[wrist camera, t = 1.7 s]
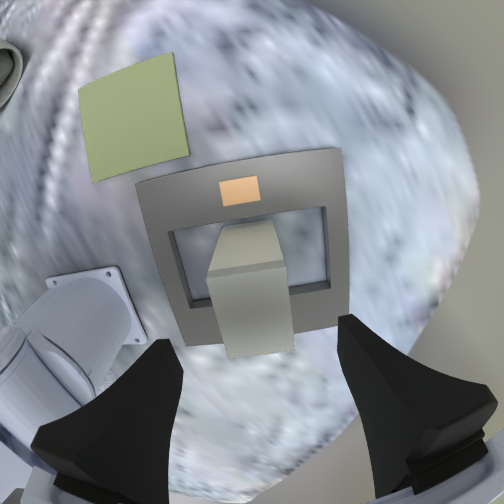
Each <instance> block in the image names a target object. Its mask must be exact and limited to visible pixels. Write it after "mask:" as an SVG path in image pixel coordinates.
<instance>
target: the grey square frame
mask: <svg viewBox="0 0 504 504" xmlns="http://www.w3.org/2000/svg"><path fill="white" fill-rule="evenodd" d="M135 186H136V190H137V194H138V198H139V202H140V206H141V210H142V214H143V218H144V222H145V226H146V229H147V233H148V236H149V240H150V243H151V247H152V250H153V253H154V257H155V260H156V263H157V266H158V270H159V273H160V276H161V279H162V282H163V285H164V288H165V291H166V294H167V297H168V299H169V302H170V305H171V308H172V311H173V313H174V316H175V319H176V321H177V324H178V327H179V329H180V332H181V334H182V337H183V340H184V342H185V345H186V346H197V345H209V344H220V343H224V342H223V338H222V335H221V332H220V328H219V325H218V321H217V318H216V315H215V311H214V307H213V304H212V300H211V299H205V300H197V301H193V300H192V297H191V294H190V290H189V287H188V284H187V280H186V277H185V274H184V270H183V267H182V263H181V260H180V256H179V252H178V249H177V245H176V241H175V238H174V234H173V231H174V230H180V229H185V228H190V227H196V226H201V225H207V224H213V223H218V222H224V221H230V220H236V219H242V218H248V217H254V216H261V215H267V214H274V213H280V212H287V211H294V210H300V209H307V208H315V207H322V211H323V222H324V234H325V249H326V265H327V281H325V282H319V283H313V284H307V285H301V286H295V287H289V297H290V306H291V315H292V324H293V333H294V334H296V333H302V332H307V331H313V330H318V329H324V328H329V327H334V326H338V316H343V315H348V314H349V236H348V216H347V201H346V189H345V178H344V168H343V159H342V151H341V148H327V149H317V150H307V151H298V152H290V153H282V154H275V155H268V156H261V157H255V158H248V159H242V160H237V161H231V162H226V163H220V164H215V165H210V166H205V167H200V168H196V169H191V170H187V171H182V172H178V173H174V174H169V175H165V176H161V177H157V178H153V179H150V180H146V181H142V182H139V183H137V184H135Z"/></svg>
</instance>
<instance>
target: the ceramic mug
mask: <svg viewBox="0 0 504 504" xmlns="http://www.w3.org/2000/svg"><path fill="white" fill-rule="evenodd" d="M22 70H23V58H22V55H21V53H20V51H19V50H18V49H17V48H16V47H15V46H13V45H11V44H9V43H8V42H6V41H4V40H2V39H1V38H0V108H1V107H2V106H3V105H4V104H5V102H6V101H7V100H8V99H9V98H10V96H11V95H12V93H13V92H14V90H15V88H16V87H17V85H18V82H19V80H20V78H21V75H22Z"/></svg>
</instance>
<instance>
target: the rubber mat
mask: <svg viewBox="0 0 504 504" xmlns="http://www.w3.org/2000/svg"><path fill="white" fill-rule="evenodd" d="M78 93H79V103H80V112H81V120H82V128H83V134H84V141H85V147H86V152H87V158H88V163H89V168H90V172H91V177H92V182H93V183H95V182H98V181H101V180H104V179H107V178H110V177H113V176H116V175H119V174H122V173H125V172H129V171H132V170H135V169H139V168H142V167H146V166H149V165H153V164H157V163H161V162H164V161H168V160H172V159H176V158H181V157H185V156H189V155H190V150H189V145H188V140H187V134H186V129H185V123H184V117H183V112H182V106H181V100H180V94H179V87H178V81H177V75H176V68H175V61H174V54H173V52H169V53H166V54H163V55H159V56H156V57H153V58H150V59H147V60H145V61H142V62H139V63H136V64H134V65H131V66H128V67H126V68H123V69H121V70H118V71H116V72H114V73H111V74H109V75H107V76H104V77H102V78H100V79H98V80H96V81H94V82H92V83H90V84H87V85H85V86H84V87H82V88H80V89H78Z"/></svg>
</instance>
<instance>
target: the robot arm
mask: <svg viewBox="0 0 504 504" xmlns="http://www.w3.org/2000/svg"><path fill="white" fill-rule="evenodd" d="M108 272H110V273H111V275H110V274H109V273H108ZM56 282H57V283H56ZM46 285H47V287H48V290H47V291H46V292H45V293H44V294H43V295H42V296H41V297H40V298H38V299H37V300H36V301H35V302H34V303H33V304H32V305H31V306H30V307H29V308H28V309H27V310H26V311H25V312H24V313H23V314H22V315H21V316H20V317H19V318H18V319H17V320H16V322H15V324H14V326H10V325H9V326H6V327H4V328H2V329H1V330H0V504H2V502H3V501H4V500H5V499H6V498H7V497H8V496H9V495H10V494H11V493H12V491H13V490H14V489H15V488H25V490H24V493H23V496H22V498H21V501H20V503H21V504H169V492H168V464H169V449H170V439H171V433H172V428H173V424H174V420H175V416H176V412H177V408H178V404H179V399H180V395H181V391H182V383H183V372H184V371H183V369H182V366H181V364H180V362H179V360H178V358H177V356H176V353H175V351H174V349H173V346H172V344H171V342H170V340H169V339H157V340H156V341H155V342H154V343H153V344H152V345H151V346H150V347H149V348H148V349H147V350H146V351H145V352H144V353H143V354H142V355H141V356H140V357H139V358H138V359H137V360H136V362H135V363H134V364H133V365H132V366H131V367H130V368H129V369H128V370H127V371H126V372H125V373H124V374H123V375H122V376H121V377H119V378H118V379H117V380H116V381H115V382H114V383H113V384H112V385H111V386H110V387H109V388H107V389H106V390H105V391H104V392H102V393H101V394H100V395H98V396H97V394H98V391H99V389H100V387H101V385H102V383H103V381H104V379H105V377H106V375H107V374H108V372H109V370H110V368H111V366H112V364H113V362H114V360H115V358H116V356H117V354H118V352H119V351H120V349H121V347H122V345H130V344H145V343H146V342H147V340H148V339H147V336H146V334H145V332H144V330H143V328H142V325H141V323H140V321H139V318H138V316H137V314H136V311H135V309H134V307H133V304H132V302H131V299H130V297H129V294H128V292H127V289H126V287H125V284H124V281H123V279H122V276H121V273H120V271H119V269H118V268H117V267H115V266H112V267H107V268H101V269H95V270H89V271H83V272H78V273H72V274H66V275H61V276H55V277H49V278H47V279H46ZM136 338H137V339H139V340H137V339H136ZM337 353H338V357H339V361H340V364H341V368H342V371H343V374H344V376H345V379H346V381H347V384H348V386H349V389H350V391H351V394H352V396H353V399H354V401H355V404H356V406H357V409H358V411H359V414H360V417H361V420H362V424H363V428H364V432H365V436H366V441H367V445H368V450H369V455H370V460H371V466H372V472H373V479H374V486H375V497H376V499H375V500H372V501H368V502H365V503H362V504H490V503H491V502H492V501H494V500H495V499H496V498H497V497H498V496H500V495H501V494H502V493H503V492H504V429H502V430H501V431H500V432H498V433H497V434H495V435H494V436H493V437H491V438H490V439H489V440H488V441H487V442H485V443H484V441H483V439H482V438H483V437H484V436H485V433H484V431H483V429H482V427H483V426H484V425H485V424H486V422H487V421H488V420H489V419H490V417H491V416H492V415H493V413H494V412H495V410H496V408H497V405H498V401H497V400H496V398H495V397H494V395H493V394H492V392H491V391H490V389H489V388H488V387H487V386H486V385H484V384H478V383H474V382H469V381H465V380H461V379H458V378H455V377H451V376H448V375H446V374H443V373H440V372H438V371H436V370H433V369H431V368H429V367H427V366H425V365H422V364H421V363H419V362H417V361H415V360H413V359H411V358H410V357H408V356H406V355H405V354H403V353H401V352H400V351H399V350H397V349H396V348H394V347H393V346H391V345H390V344H388V343H387V342H386V341H385V340H383V339H382V338H381V337H379V336H378V335H377V334H376V333H374V332H373V331H372V330H371V329H370V328H368V327H367V326H366V325H365V324H364V323H362V322H361V321H360V320H359V319H358V318H357V317H355V316H354V315H353V314H348V315H343V316H338V343H337ZM96 396H97V397H96Z"/></svg>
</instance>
